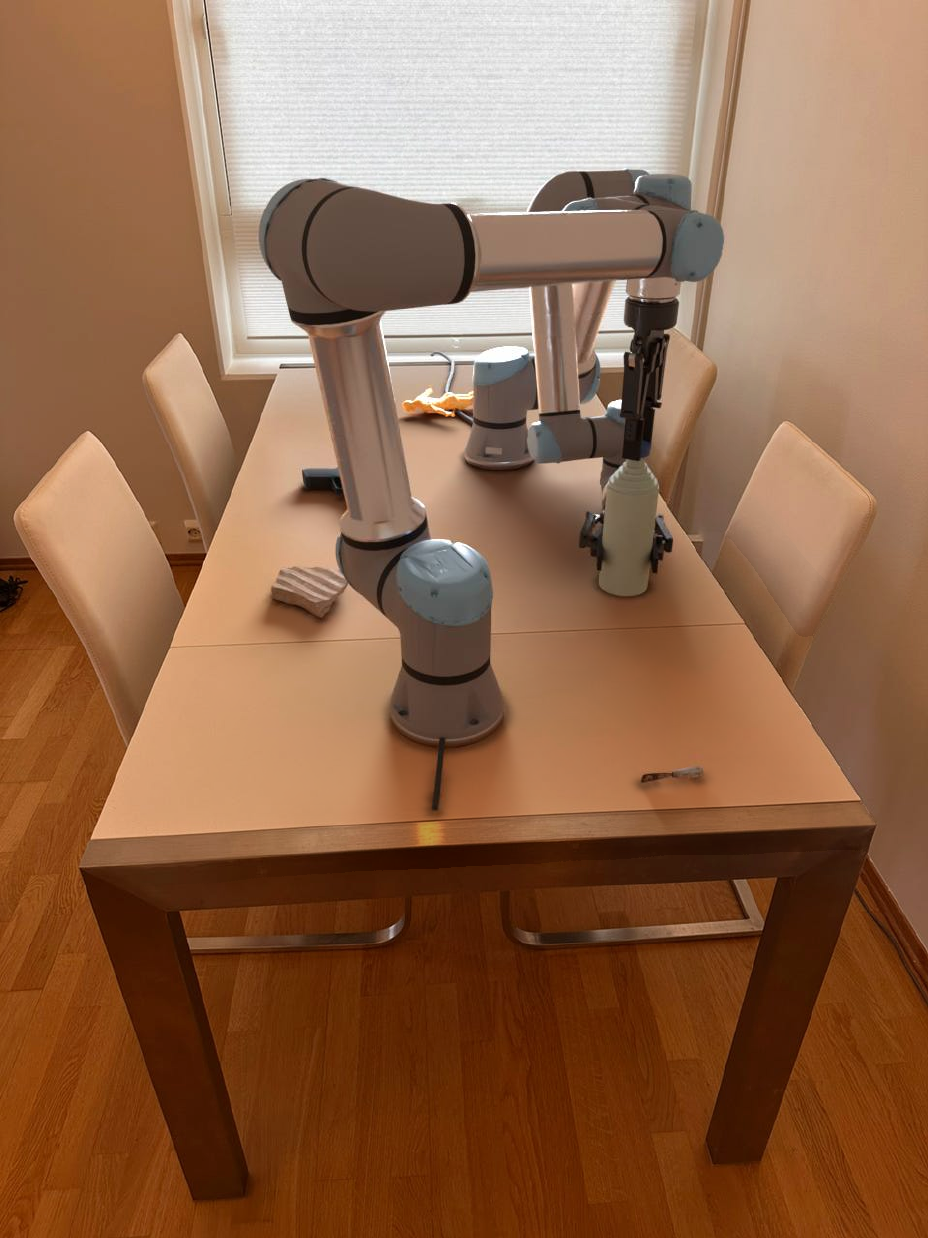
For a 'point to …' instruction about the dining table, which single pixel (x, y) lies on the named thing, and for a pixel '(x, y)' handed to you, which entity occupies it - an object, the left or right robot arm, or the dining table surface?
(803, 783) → the dining table surface
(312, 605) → the stone
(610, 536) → the bottle
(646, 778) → the putty knife
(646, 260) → the left robot arm
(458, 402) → the human figure
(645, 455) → the cap
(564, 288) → the right robot arm
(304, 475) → the handgun
